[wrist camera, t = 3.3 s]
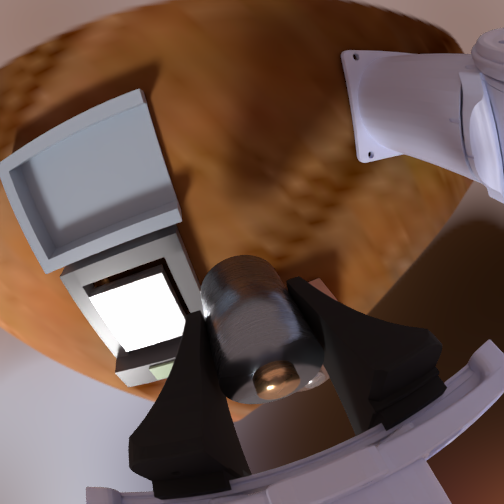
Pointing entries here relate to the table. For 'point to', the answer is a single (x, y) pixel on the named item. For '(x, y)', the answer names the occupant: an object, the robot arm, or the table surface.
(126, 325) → the pad
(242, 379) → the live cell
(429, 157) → the robot arm
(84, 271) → the digital scale
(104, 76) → the table surface
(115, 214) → the trough
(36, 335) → the table surface
